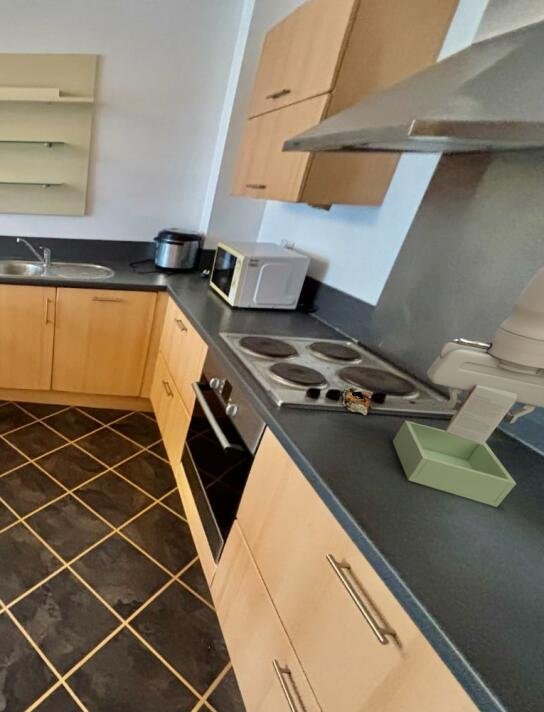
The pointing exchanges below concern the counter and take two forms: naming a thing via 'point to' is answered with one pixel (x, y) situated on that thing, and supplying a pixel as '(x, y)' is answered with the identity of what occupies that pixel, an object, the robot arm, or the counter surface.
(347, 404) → the pastry
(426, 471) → the sorting bin
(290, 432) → the counter surface
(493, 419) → the small box
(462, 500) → the counter surface
